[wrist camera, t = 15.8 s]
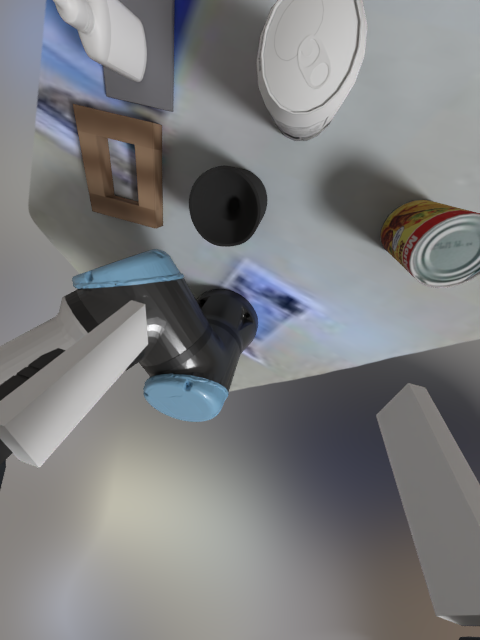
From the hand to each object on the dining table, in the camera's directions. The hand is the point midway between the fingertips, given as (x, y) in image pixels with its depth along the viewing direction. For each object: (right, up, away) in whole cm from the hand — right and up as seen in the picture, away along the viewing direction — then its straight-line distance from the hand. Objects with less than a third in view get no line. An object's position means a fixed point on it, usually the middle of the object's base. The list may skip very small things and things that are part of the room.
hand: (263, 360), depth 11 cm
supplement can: (+7, +30, +17) cm, 35 cm away
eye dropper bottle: (-15, +37, +18) cm, 44 cm away
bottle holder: (-20, +27, +27) cm, 43 cm away
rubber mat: (-15, +37, +18) cm, 44 cm away
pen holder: (-1, +21, +25) cm, 33 cm away
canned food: (+24, +16, +22) cm, 36 cm away
